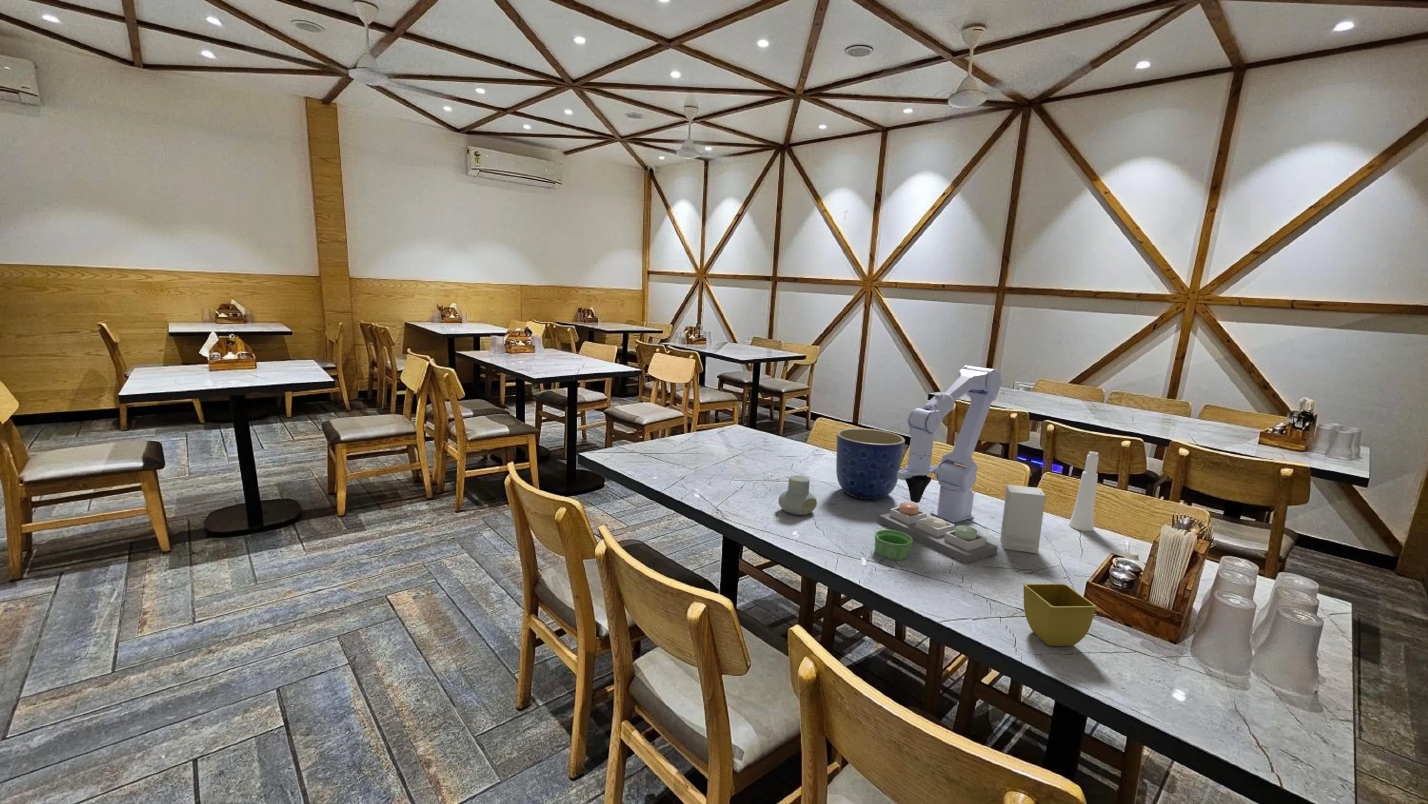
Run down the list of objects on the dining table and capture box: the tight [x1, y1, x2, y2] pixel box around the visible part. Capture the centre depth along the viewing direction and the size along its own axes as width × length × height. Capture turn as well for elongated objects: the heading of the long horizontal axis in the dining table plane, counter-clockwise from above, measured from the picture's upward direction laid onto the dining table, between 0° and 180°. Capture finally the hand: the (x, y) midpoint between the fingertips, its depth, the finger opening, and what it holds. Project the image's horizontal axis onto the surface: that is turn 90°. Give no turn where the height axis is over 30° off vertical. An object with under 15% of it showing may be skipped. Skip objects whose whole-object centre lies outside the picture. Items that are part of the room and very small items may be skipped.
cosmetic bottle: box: [1068, 451, 1100, 532], centre depth 164 cm, size 6×6×22 cm
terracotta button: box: [898, 501, 920, 516], centre depth 161 cm, size 5×5×2 cm
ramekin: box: [874, 529, 914, 561], centre depth 143 cm, size 9×9×4 cm
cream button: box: [925, 516, 947, 528], centre depth 154 cm, size 5×5×2 cm
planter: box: [835, 427, 906, 500], centre depth 184 cm, size 21×21×19 cm
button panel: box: [877, 506, 998, 564], centre depth 154 cm, size 12×28×4 cm, turn 31°
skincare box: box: [999, 484, 1047, 555], centre depth 149 cm, size 8×7×16 cm
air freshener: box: [777, 475, 818, 516], centre depth 168 cm, size 11×8×10 cm
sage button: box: [955, 524, 978, 542], centre depth 146 cm, size 5×5×2 cm
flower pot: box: [1023, 583, 1098, 647], centre depth 109 cm, size 9×9×9 cm
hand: (915, 501), depth 159 cm, fingers closed
